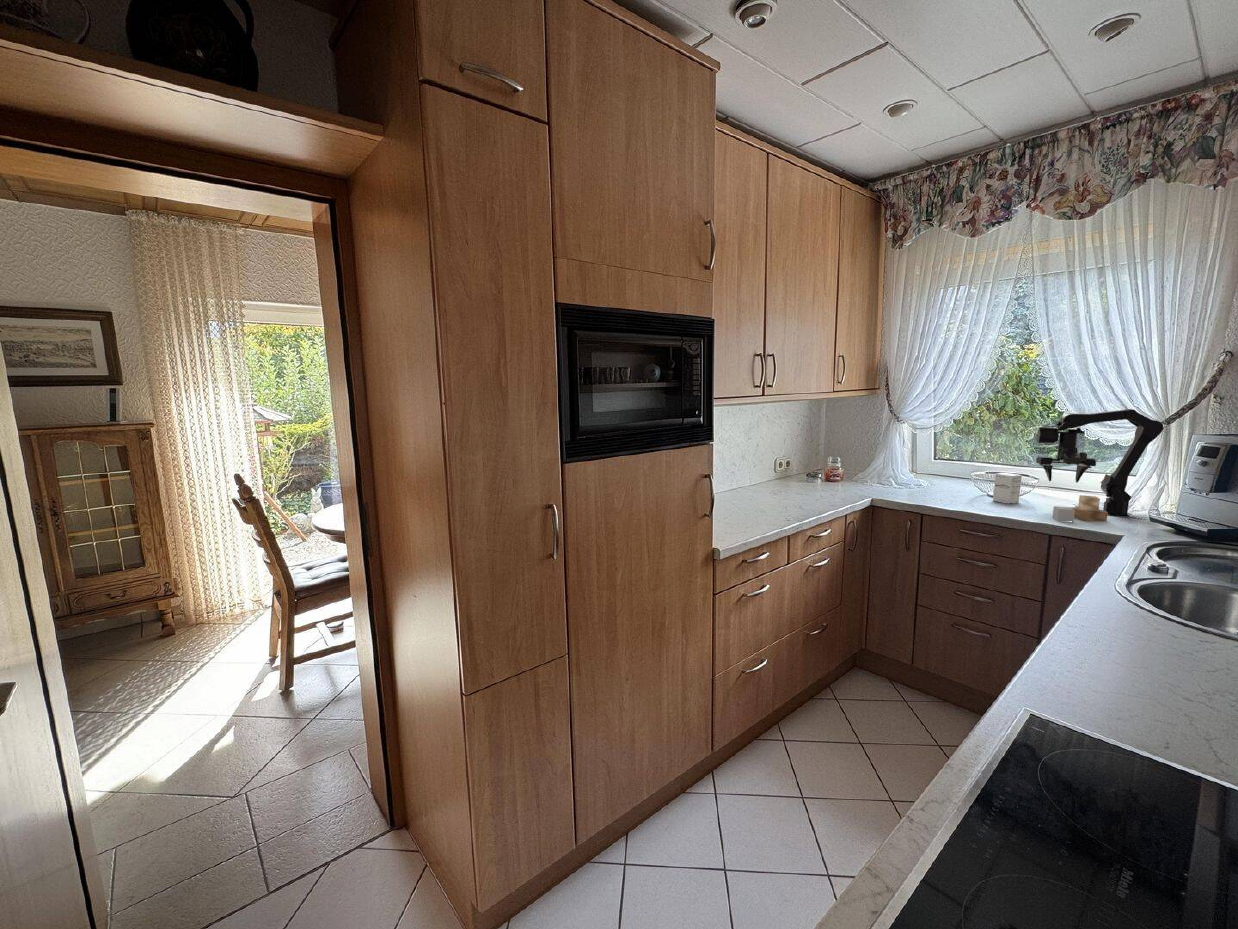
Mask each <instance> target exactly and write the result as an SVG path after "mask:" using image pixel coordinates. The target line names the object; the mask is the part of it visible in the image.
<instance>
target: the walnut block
mask: <svg viewBox="0 0 1238 929" xmlns="http://www.w3.org/2000/svg"><path fill="white" fill-rule="evenodd" d="M1069 507H1070V506H1069ZM1070 508H1072V509H1074V510H1075V512H1074V517H1075V518H1074V519H1076V518H1078V519H1077V520H1079V519H1080V521H1083V522H1107V520H1108V512H1106V511H1103V509H1099V510H1098V511H1087V510H1081V509H1080V508H1078V506H1077V507H1076V506H1075V507H1073V506H1071V507H1070Z"/></svg>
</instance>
